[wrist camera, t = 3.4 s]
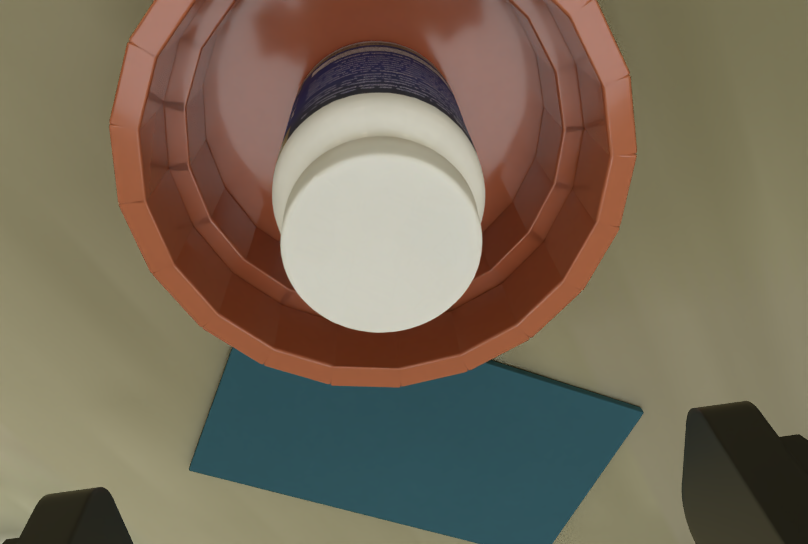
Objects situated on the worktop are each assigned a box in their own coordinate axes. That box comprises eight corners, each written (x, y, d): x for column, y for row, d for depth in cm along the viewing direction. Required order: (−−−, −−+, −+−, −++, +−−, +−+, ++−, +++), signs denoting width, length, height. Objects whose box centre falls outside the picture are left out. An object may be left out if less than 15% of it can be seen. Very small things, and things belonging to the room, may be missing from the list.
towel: (190, 464, 33) (188, 470, 32) (254, 284, 29) (253, 289, 28) (539, 553, 37) (541, 559, 36) (641, 407, 33) (644, 412, 32)
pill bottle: (263, 76, 24) (209, 186, 16) (422, 9, 24) (459, 85, 15) (333, 221, 27) (321, 383, 18) (478, 164, 26) (537, 306, 17)
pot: (123, 226, 27) (66, 309, 22) (231, -202, 21) (188, -230, 16) (474, 339, 30) (497, 434, 25) (656, -3, 24) (739, 29, 19)
